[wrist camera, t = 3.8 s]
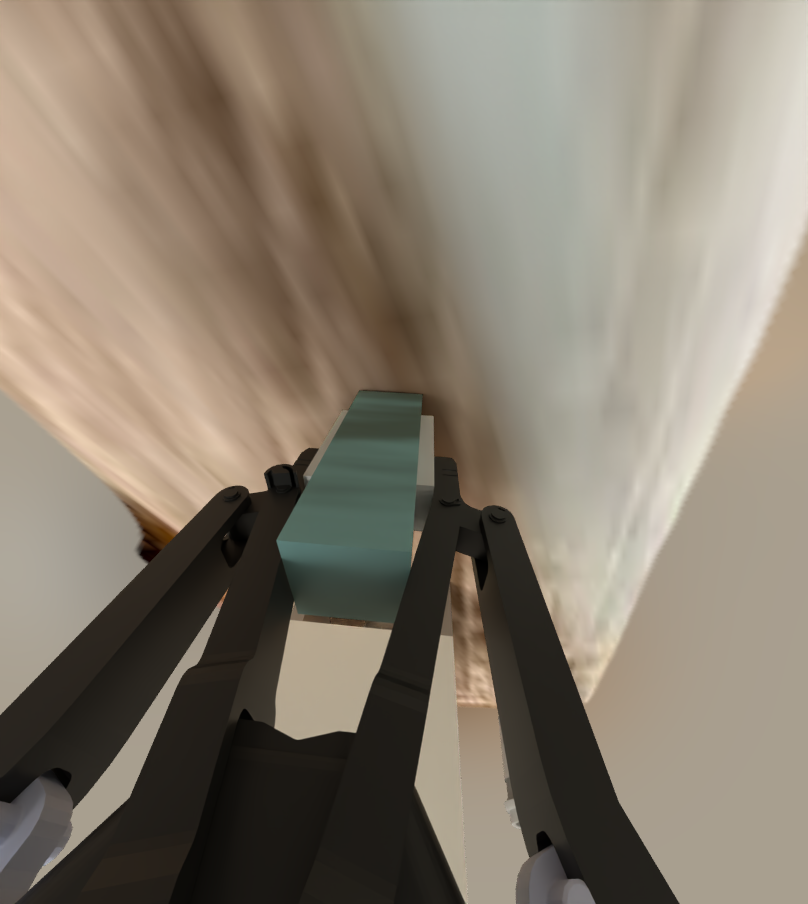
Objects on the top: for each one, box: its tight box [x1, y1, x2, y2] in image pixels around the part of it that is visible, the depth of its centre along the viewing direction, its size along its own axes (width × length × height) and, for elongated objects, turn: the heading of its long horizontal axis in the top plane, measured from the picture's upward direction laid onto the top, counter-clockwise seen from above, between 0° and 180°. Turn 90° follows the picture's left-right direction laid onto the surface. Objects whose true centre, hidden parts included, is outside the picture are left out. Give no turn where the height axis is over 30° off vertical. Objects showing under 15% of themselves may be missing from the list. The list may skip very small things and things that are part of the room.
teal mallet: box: [276, 390, 423, 623], centre depth 19 cm, size 20×4×12 cm, turn 178°
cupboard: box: [274, 584, 468, 904], centre depth 23 cm, size 11×15×22 cm
